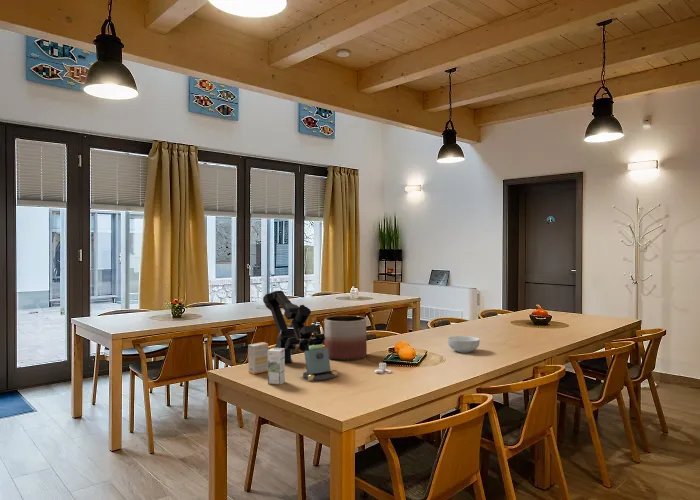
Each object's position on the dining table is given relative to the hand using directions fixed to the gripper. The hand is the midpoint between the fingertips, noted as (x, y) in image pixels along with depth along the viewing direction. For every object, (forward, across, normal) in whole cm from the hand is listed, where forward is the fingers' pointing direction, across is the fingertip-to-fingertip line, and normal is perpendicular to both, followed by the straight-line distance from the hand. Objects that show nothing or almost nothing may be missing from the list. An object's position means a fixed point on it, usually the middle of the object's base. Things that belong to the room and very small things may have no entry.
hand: (311, 356), depth 229 cm
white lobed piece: (+15, +26, -4) cm, 31 cm away
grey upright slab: (+9, 0, -2) cm, 9 cm away
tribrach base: (+10, 0, +1) cm, 10 cm away
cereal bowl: (+9, +91, +2) cm, 92 cm away
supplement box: (-6, -19, +17) cm, 26 cm away
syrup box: (+9, -20, +2) cm, 22 cm away
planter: (-9, +32, +20) cm, 39 cm away
